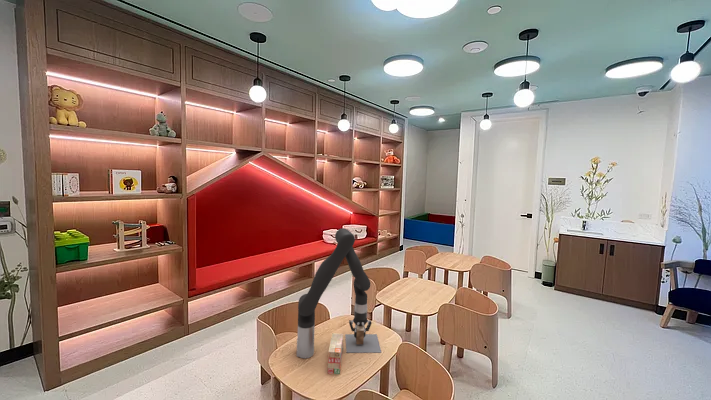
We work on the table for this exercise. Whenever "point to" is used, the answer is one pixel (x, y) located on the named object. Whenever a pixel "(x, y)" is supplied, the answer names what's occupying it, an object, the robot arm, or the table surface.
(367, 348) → the mat
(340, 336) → the stack of blocks
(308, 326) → the robot arm
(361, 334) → the walnut block
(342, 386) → the table surface
